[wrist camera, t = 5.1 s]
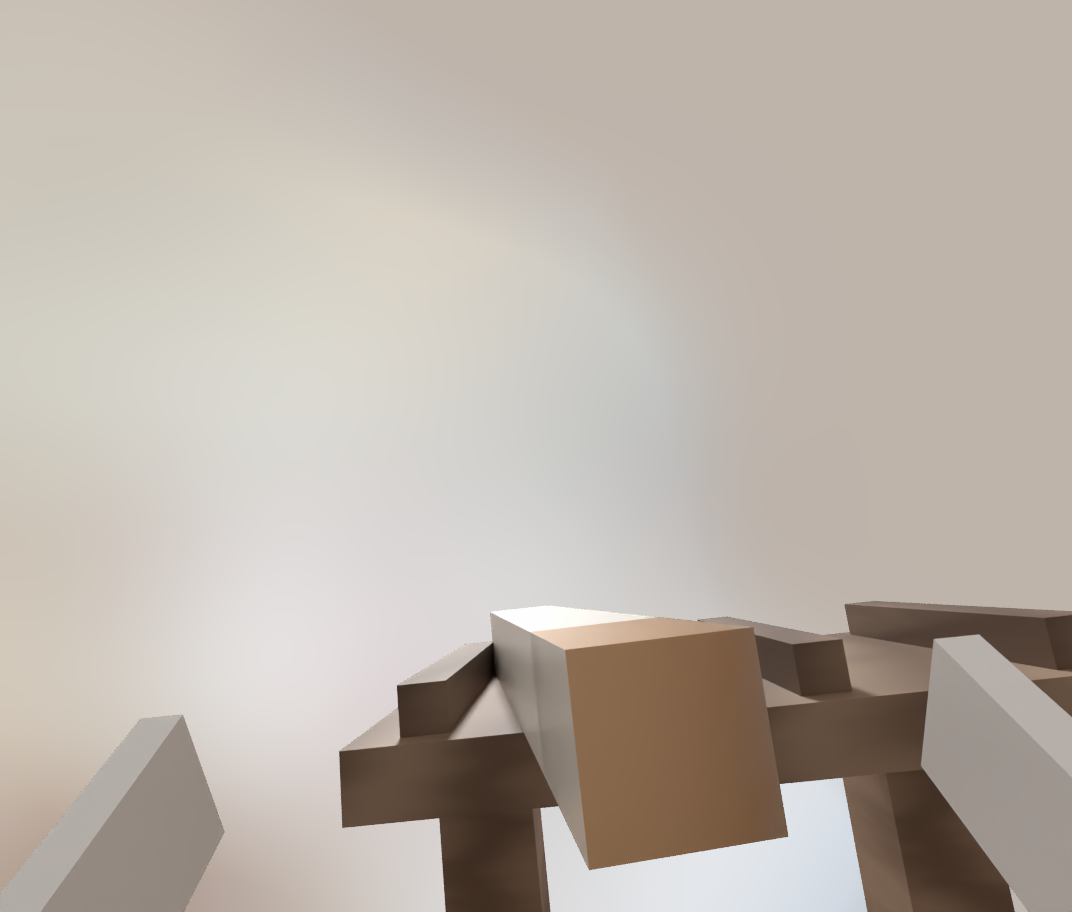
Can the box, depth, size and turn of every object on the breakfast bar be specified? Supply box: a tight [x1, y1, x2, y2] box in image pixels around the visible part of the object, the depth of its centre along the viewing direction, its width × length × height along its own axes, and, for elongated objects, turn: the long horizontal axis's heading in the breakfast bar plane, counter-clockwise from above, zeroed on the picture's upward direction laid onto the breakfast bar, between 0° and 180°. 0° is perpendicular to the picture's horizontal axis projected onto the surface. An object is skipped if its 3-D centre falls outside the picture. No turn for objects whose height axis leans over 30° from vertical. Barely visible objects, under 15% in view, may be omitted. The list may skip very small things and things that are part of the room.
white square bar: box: [490, 606, 788, 870], centre depth 21 cm, size 3×24×3 cm, turn 6°
